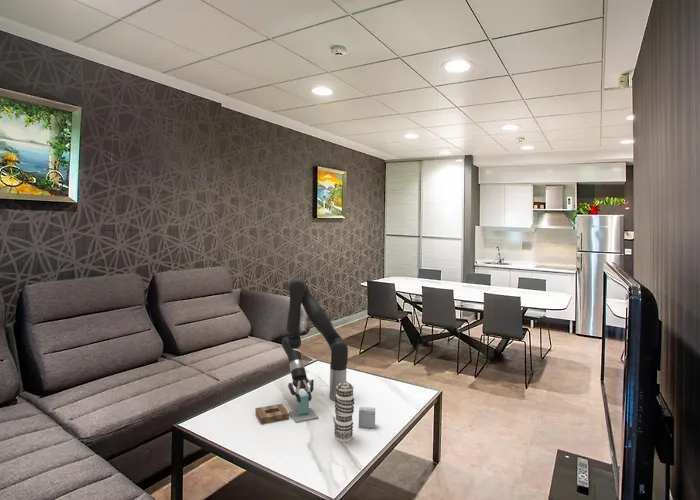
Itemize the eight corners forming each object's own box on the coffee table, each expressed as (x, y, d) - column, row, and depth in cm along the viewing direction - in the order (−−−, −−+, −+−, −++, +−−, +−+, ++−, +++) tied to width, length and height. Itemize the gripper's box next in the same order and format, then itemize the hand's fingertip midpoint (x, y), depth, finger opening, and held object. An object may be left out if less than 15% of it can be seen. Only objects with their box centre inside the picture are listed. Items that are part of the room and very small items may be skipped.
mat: (310, 408, 221) (310, 407, 221) (318, 418, 211) (318, 417, 211) (288, 412, 216) (288, 411, 216) (295, 422, 205) (295, 421, 205)
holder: (281, 409, 220) (282, 403, 220) (288, 419, 209) (289, 413, 209) (255, 413, 214) (255, 408, 213) (261, 424, 203) (261, 418, 203)
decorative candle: (330, 439, 191) (331, 386, 189) (338, 430, 200) (339, 379, 198) (348, 443, 188) (350, 389, 186) (356, 434, 196) (357, 382, 194)
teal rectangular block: (307, 410, 215) (307, 393, 215) (308, 412, 214) (309, 395, 213) (298, 412, 213) (298, 395, 213) (299, 414, 211) (299, 397, 211)
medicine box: (375, 424, 207) (375, 407, 206) (374, 428, 202) (375, 411, 202) (359, 423, 207) (359, 406, 207) (358, 427, 203) (358, 410, 202)
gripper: (286, 368, 215) (293, 400, 206) (312, 365, 222) (320, 396, 212) (283, 375, 221) (289, 406, 211) (308, 371, 227) (316, 402, 217)
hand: (304, 401), depth 211 cm, fingers closed on teal rectangular block, 4 cm apart
